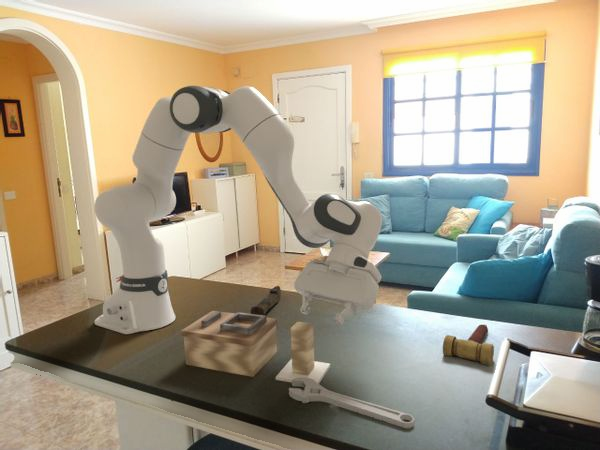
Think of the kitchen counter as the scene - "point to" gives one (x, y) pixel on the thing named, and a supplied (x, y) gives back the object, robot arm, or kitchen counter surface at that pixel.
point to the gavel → (470, 347)
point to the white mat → (315, 375)
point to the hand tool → (267, 302)
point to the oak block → (302, 348)
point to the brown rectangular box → (231, 342)
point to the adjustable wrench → (347, 402)
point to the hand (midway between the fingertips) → (320, 317)
